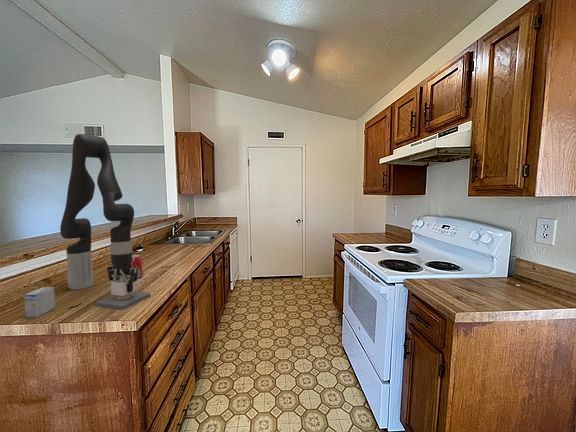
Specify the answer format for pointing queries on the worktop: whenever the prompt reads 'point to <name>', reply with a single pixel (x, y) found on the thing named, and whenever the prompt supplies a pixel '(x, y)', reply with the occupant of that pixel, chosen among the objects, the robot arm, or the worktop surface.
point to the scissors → (139, 282)
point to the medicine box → (39, 301)
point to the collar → (120, 288)
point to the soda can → (137, 264)
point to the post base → (122, 299)
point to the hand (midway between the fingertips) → (123, 290)
